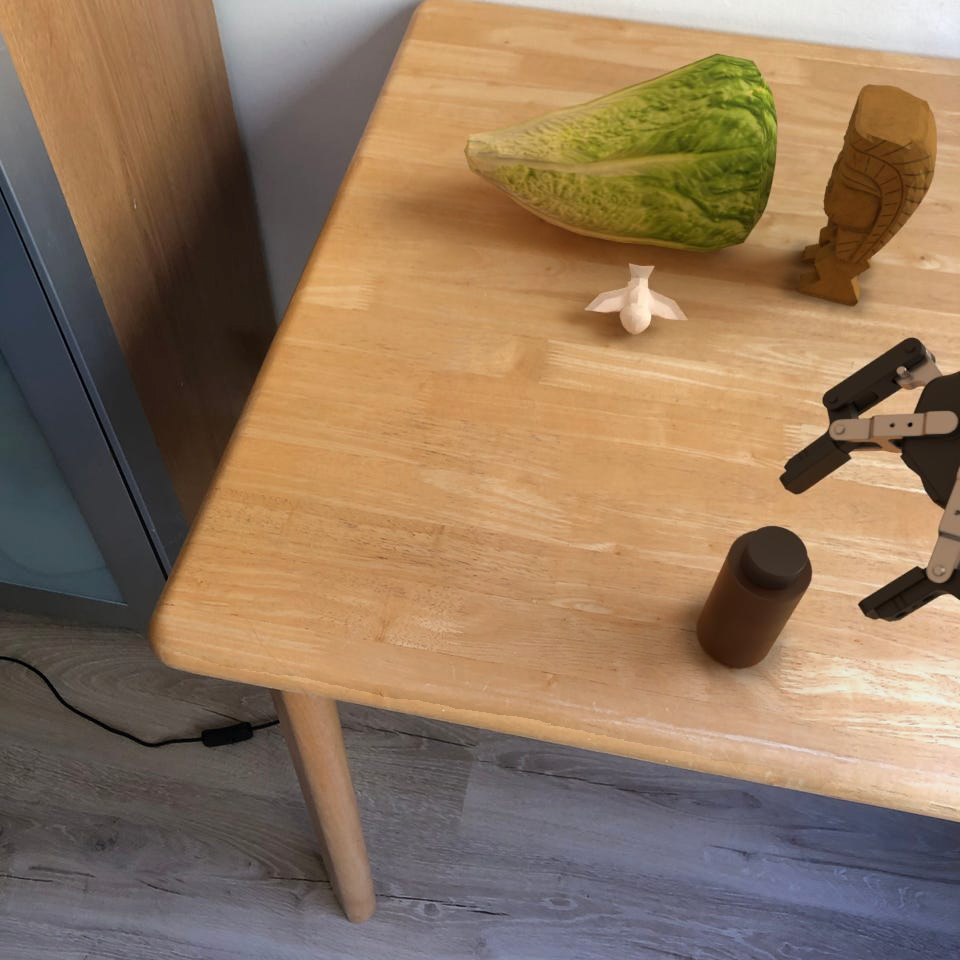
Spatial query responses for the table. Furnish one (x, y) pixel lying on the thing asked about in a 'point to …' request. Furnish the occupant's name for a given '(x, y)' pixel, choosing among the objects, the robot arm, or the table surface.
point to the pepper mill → (754, 596)
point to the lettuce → (646, 159)
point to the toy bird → (637, 302)
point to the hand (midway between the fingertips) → (825, 547)
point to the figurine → (871, 188)
